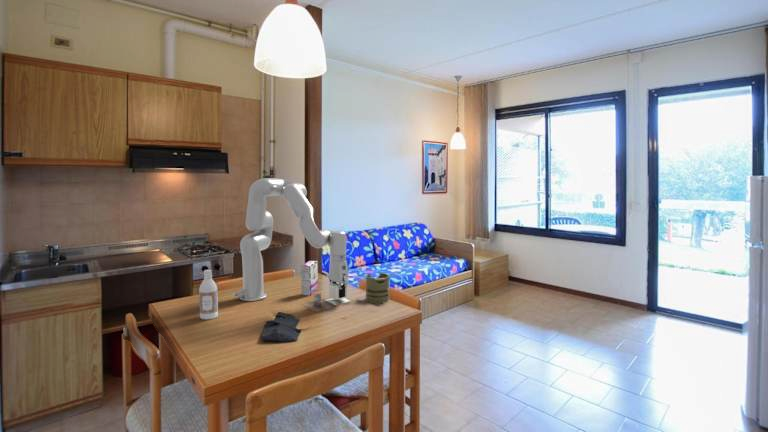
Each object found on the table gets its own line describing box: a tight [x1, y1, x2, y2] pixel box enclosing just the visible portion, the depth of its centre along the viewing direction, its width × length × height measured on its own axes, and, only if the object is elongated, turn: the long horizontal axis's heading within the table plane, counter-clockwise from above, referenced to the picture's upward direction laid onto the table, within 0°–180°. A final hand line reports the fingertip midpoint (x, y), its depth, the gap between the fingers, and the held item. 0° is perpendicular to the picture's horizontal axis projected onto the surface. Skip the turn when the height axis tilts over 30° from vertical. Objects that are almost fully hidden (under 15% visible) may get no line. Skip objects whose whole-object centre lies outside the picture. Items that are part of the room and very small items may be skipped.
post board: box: [300, 293, 357, 313], centre depth 179 cm, size 22×14×6 cm, turn 130°
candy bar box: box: [300, 260, 319, 296], centre depth 196 cm, size 11×5×16 cm, turn 170°
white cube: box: [328, 283, 348, 300], centre depth 182 cm, size 6×6×6 cm
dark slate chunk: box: [260, 311, 303, 343], centre depth 149 cm, size 15×22×5 cm
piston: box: [365, 272, 390, 304], centre depth 189 cm, size 11×12×11 cm
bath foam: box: [198, 269, 219, 321], centre depth 162 cm, size 7×7×20 cm
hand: (338, 295), depth 182 cm, fingers closed on white cube, 6 cm apart
